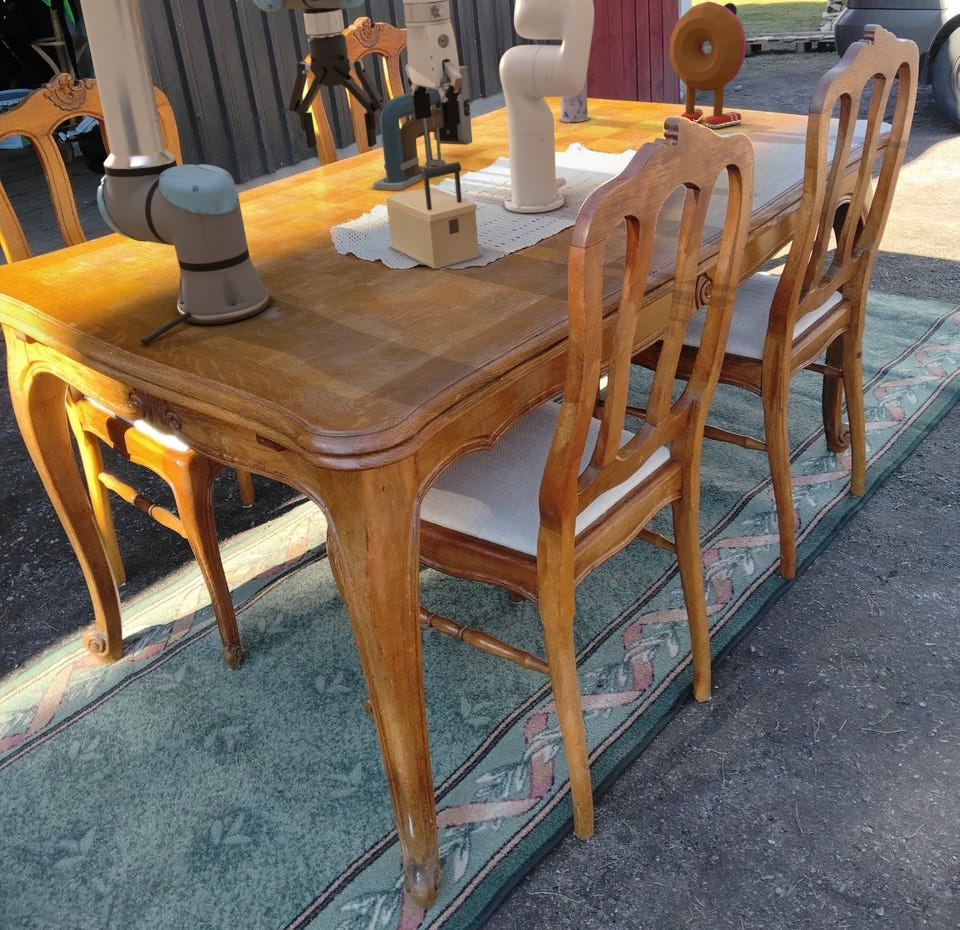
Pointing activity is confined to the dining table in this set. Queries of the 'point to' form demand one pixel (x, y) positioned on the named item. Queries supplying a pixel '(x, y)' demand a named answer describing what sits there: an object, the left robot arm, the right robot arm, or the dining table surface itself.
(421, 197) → the lid
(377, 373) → the dining table surface
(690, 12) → the toy
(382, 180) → the clamp
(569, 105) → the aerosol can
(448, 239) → the chest
